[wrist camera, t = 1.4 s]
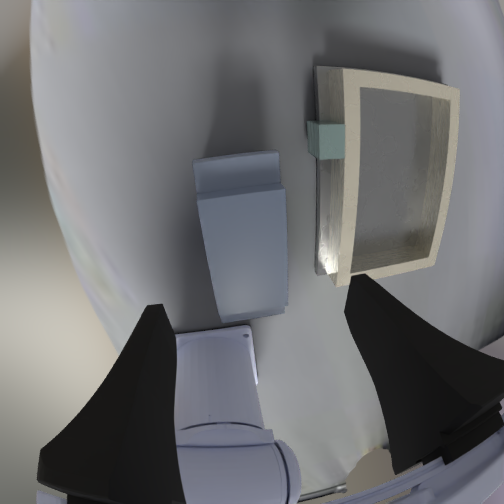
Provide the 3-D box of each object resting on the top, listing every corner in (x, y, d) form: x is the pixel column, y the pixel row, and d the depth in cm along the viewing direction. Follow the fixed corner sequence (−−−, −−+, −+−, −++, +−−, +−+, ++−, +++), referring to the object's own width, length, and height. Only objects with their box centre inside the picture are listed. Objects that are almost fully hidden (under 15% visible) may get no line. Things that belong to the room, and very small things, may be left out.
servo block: (270, 272, 22) (288, 323, 17) (217, 280, 22) (223, 334, 17) (261, 137, 17) (284, 157, 12) (196, 146, 16) (191, 168, 12)
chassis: (423, 250, 23) (439, 266, 21) (305, 273, 22) (315, 293, 20) (442, 84, 15) (465, 87, 13) (300, 66, 14) (315, 62, 12)
